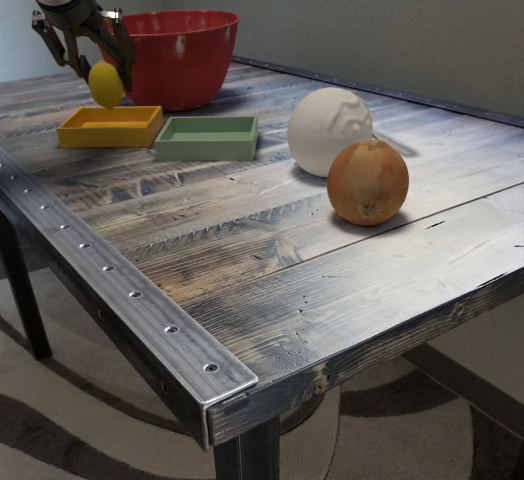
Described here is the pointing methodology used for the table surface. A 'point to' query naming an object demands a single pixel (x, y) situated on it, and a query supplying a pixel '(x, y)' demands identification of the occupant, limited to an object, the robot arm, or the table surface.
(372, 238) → the table surface
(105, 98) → the lemon
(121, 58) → the robot arm
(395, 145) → the fork
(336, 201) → the onion
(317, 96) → the decorative ball
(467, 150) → the table surface
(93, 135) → the yellow tray
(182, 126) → the green tray
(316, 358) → the table surface
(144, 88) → the mixing bowl
